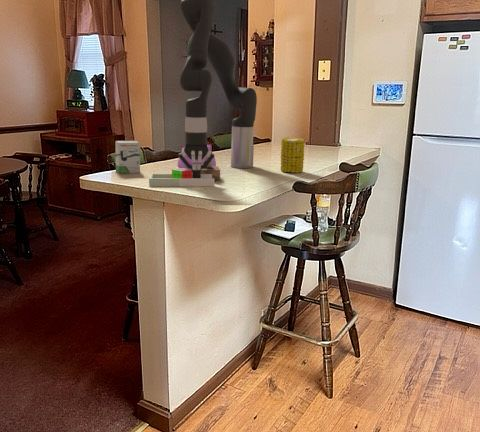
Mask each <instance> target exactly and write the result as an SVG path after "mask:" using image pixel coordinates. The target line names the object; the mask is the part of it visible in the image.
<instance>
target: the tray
mask: <svg viewBox="0 0 480 432" xmlns="http://www.w3.org/2000/svg"><path fill="white" fill-rule="evenodd" d="M148 187H180V186H179V178H172V173H149V177H148Z"/></svg>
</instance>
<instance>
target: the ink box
mask: <svg viewBox="0 0 480 432" xmlns="http://www.w3.org/2000/svg"><path fill="white" fill-rule="evenodd" d="M140 150H141V143H140V142H139V141H137V140H115V172H116V173H117V174H131V173H132V174H133V173H134V174H135V173H141V151H140Z"/></svg>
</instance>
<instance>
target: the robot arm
mask: <svg viewBox="0 0 480 432" xmlns="http://www.w3.org/2000/svg"><path fill="white" fill-rule="evenodd" d="M179 6H180V11H181V13H182V16H183V18H184V20H185V22H186V23H187V25H188V27H189V28H190V29H191V31H192V34H191V36H190V38H189V39H188V44H187V47H186V61H185V64H184V66H183V68H182V70H181V73H180V75H179V76H180V77H179V84H180V87H181V89H182V90H184V91H186V92H200V95H199V96H198V97H195V98H194V97H193V98H189V99H187V100H186V101H185V120H184V121H185V122H184V131H185V133H184V143H185V145H184V147H185V148H184V147H183V148H184V151H183V152H182V151H181V152H179V153H178V158H180V159H181V160H182V161H183V163H184V164H185V165H186V166H187V168H190V169H192V177H193V178H201V169H203V168H206V166H207V165H208V164H209V163H210V161H211V160H212V159H213V158H214V157H215V154H214V153H213V152H212V153H211V152H210V151H209V149H208V147H207V145H208V121H207V120H208V119H207V113H208V112H207V110H208V109H207V106H208V105H207V104H208V98H209V93H210V90H211V87H212V83H213V76H212V74H211V71H209V70H208V69H205V68H206V67H207V65H208V61H209V64H210V65H211V67H212V69H213V71H214V72H215V74H216V77H217V79H218V80H219V82H220V85H221V87H222V89H223V92H224V94H225V96H226V99H227V102H228V104H229V106H230V107H231V109H234V110H237V111H241V112H240V115H239V116H238V117H235V118H233V119H232V121H231V147H230V150H231V153H230V155H231V156H230V167H232V168H236V169H237V168H238V169H239V168H240V169H249V168H250V169H251V168H254V155H255V154H254V153H255V152H254V151H255V145H254V127H255V126H254V124H255V121H256V116H257V115H256V114H257V103H258V97H257V93H256V90H255V89H254V88H252V87H240V86H238V84H237V82H236V80H235V78H234V74H235V73H234V72H235V65H236V62H235V57H234V55H233V52H232V51H231V49H230V47H229V45H228V44H227V42H225V41H224V40H223V39H221V38H220V37H219V36H217V35H215V34H214V33H212V32H211V31H212V27H213V23H214V20H215V19H214V18H215V11H216V10H215V2H214V0H181V1H180V5H179ZM185 153H186V154H187V156H188V157H189V158H190V159H191V161H192V165H191V164H189V163H188V161H187V160H186V159H185V157H186V156H185ZM206 154H207V157H208V158H207V159H206V160H205V162H204V163H203V164H202V165H201V160H202V159H203V158H204V157H205V155H206ZM195 160H197V169H196V162H195Z"/></svg>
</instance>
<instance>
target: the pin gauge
mask: <svg viewBox="0 0 480 432" xmlns="http://www.w3.org/2000/svg"><path fill="white" fill-rule="evenodd" d="M211 151H212V150H211ZM211 151H210V152H211ZM211 153H213V151H212V152H211ZM207 158H208V157H207V154H206V155H205V160H206V159H207ZM205 169H212V160H211V161H210V163H209V164H208V165H207V166H206V168H205Z"/></svg>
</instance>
